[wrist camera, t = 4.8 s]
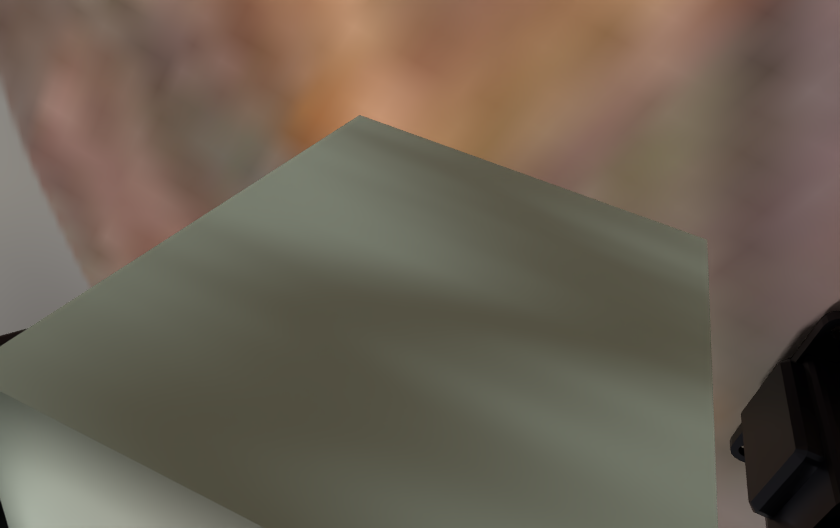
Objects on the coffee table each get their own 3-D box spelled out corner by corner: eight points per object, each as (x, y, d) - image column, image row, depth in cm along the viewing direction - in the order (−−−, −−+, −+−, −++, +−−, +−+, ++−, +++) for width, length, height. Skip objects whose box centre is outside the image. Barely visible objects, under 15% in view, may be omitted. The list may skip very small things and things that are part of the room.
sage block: (707, 239, 8) (728, 766, 3) (572, 475, 11) (474, 945, 6) (359, 115, 9) (-39, 372, 4) (320, 362, 12) (56, 687, 7)
